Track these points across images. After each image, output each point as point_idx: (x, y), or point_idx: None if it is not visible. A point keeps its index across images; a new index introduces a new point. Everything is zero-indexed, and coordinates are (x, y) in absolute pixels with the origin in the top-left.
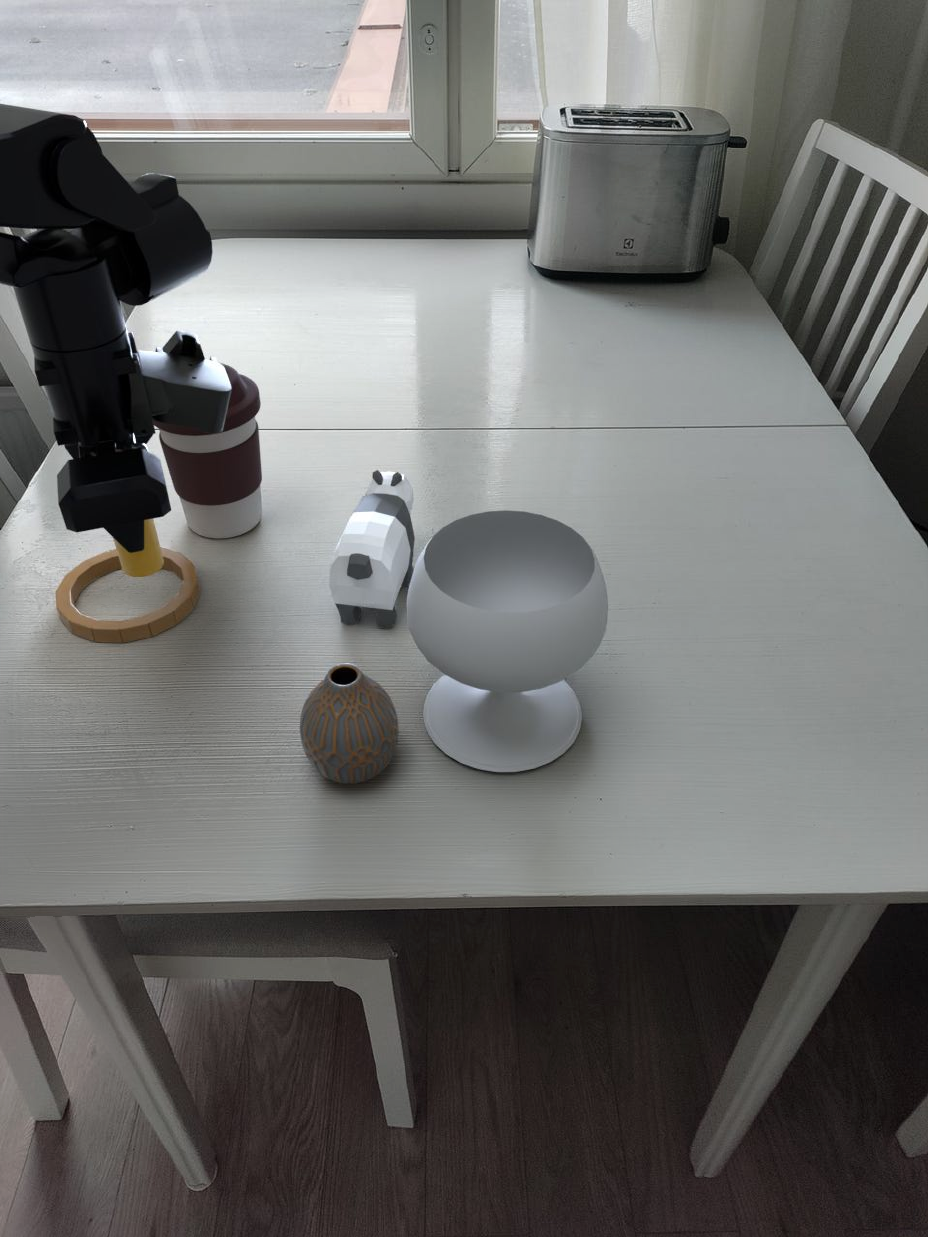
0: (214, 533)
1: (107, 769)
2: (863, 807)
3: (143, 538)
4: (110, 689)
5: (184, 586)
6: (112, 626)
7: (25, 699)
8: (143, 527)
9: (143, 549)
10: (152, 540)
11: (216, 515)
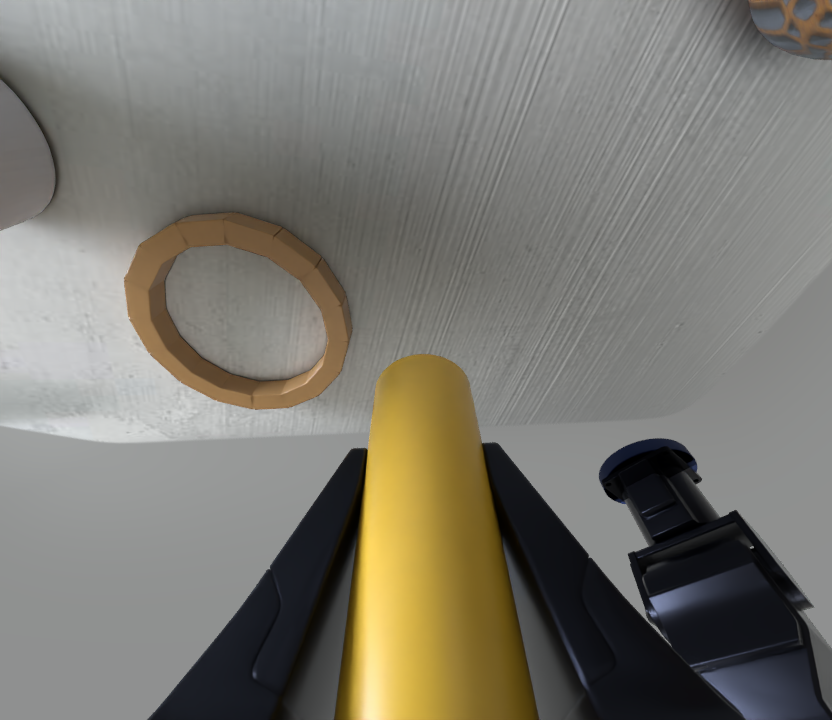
0: (46, 168)
1: (575, 347)
2: None
3: (523, 475)
4: (440, 343)
5: (246, 244)
6: (340, 349)
7: None
8: (555, 515)
9: (498, 444)
10: (464, 425)
11: (1, 162)
